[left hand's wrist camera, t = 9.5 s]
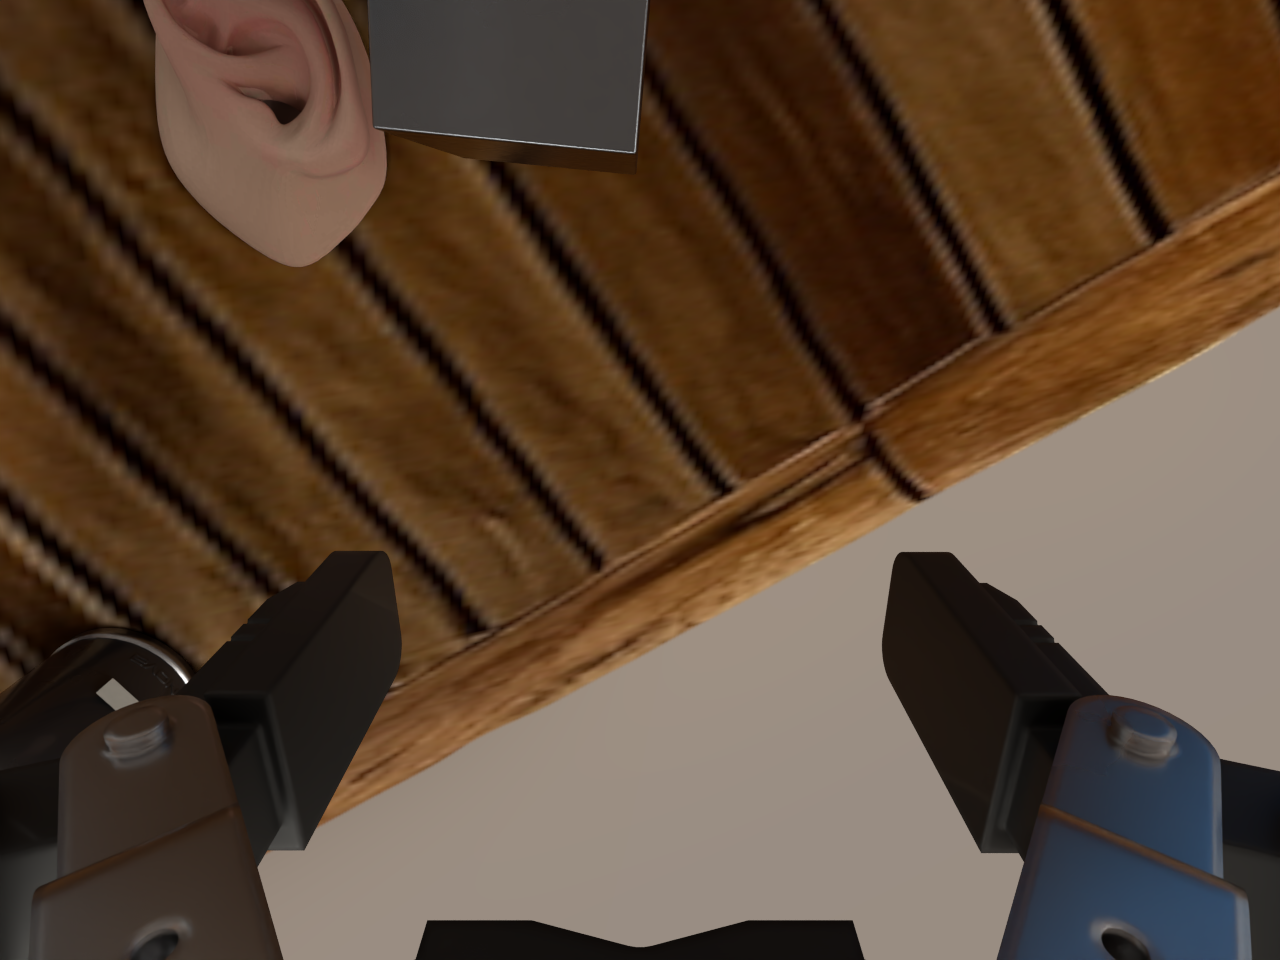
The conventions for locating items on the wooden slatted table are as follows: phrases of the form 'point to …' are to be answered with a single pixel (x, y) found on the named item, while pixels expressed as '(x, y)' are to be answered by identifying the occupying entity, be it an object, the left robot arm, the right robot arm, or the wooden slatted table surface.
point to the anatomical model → (269, 119)
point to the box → (512, 78)
